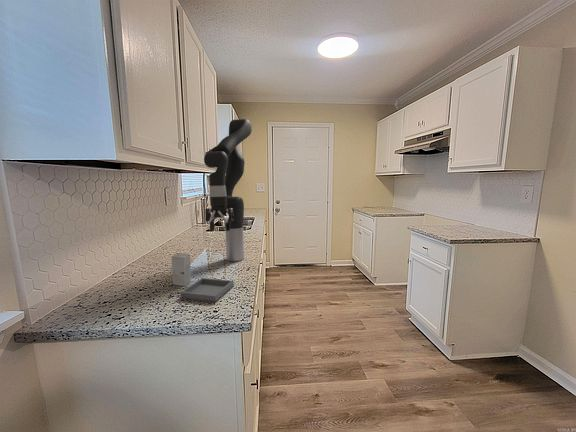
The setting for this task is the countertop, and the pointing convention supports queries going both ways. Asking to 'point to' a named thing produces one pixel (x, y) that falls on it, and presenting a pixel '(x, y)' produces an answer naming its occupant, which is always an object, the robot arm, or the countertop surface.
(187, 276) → the skincare box
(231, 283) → the tray
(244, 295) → the countertop surface
